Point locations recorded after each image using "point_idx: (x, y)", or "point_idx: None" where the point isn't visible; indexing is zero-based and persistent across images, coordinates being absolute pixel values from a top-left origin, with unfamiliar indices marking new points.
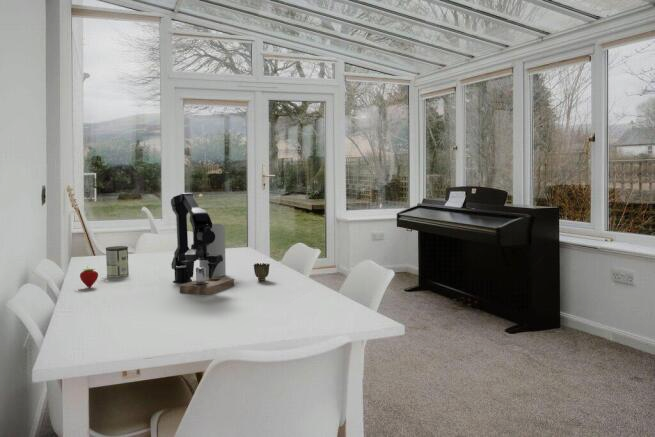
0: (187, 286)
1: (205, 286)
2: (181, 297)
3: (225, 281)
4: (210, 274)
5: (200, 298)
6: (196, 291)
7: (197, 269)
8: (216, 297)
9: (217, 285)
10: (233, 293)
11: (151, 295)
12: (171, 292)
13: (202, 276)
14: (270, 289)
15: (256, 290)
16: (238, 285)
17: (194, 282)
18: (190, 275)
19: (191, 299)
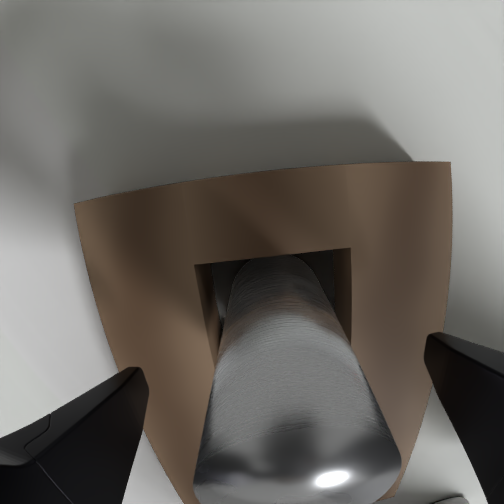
0: (354, 165)
1: (135, 238)
2: (255, 8)
3: (164, 465)
4: (87, 391)
5: (85, 64)
6: (229, 175)
7: (316, 411)
8: (15, 160)
9: (122, 364)
10: (20, 317)
11: (491, 22)
12: (466, 141)
13: (220, 356)
14: (4, 432)
15: (14, 410)
16: (174, 488)
17: (395, 354)
18: (448, 338)
19: (128, 5)
